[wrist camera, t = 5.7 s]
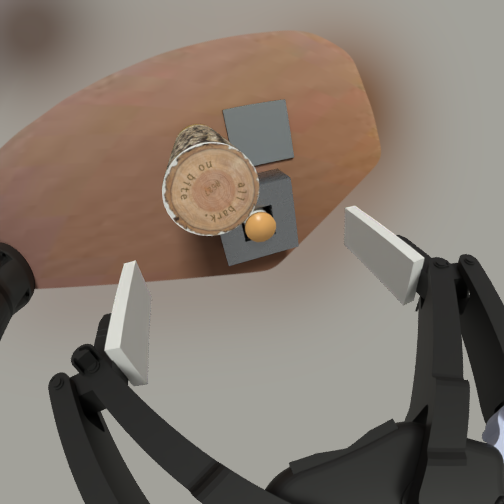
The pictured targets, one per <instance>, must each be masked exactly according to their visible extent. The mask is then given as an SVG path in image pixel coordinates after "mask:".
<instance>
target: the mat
mask: <svg viewBox="0 0 504 504" xmlns="http://www.w3.org/2000/svg"><path fill="white" fill-rule="evenodd" d="M223 115H224V120H225V124H226V129H227V134H228V138H229V142H230V143H231V144H232V145H234V146H235V147H236V148H237V149H239V150H240V151H241V152H243V153H244V154H245V155H246V156H247V157H248V159H249V160H250V161H251V163H252V164H253V166H255V165H260V164H264V163H269V162H273V161H278V160H283V159H288V158H293V157H294V154H293V147H292V140H291V133H290V127H289V120H288V114H287V108H286V102H285V99H284V100H277V101H270V102H263V103H257V104H251V105H246V106H240V107H235V108H230V109H225V110H223Z"/></svg>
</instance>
